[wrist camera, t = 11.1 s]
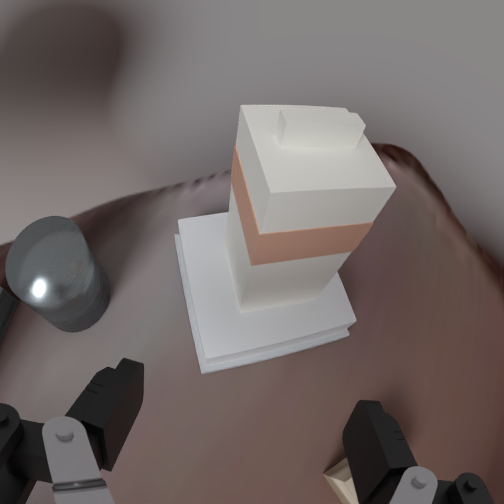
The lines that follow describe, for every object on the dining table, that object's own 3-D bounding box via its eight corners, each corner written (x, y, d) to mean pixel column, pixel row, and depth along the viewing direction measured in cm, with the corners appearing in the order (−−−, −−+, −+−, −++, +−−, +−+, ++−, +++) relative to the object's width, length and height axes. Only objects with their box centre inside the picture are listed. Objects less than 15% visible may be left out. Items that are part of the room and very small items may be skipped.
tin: (43, 336, 19) (1, 306, 14) (44, 266, 22) (11, 225, 17) (113, 327, 21) (84, 294, 15) (108, 255, 23) (86, 208, 18)
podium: (201, 374, 20) (200, 366, 17) (174, 238, 25) (171, 216, 22) (346, 337, 22) (363, 324, 20) (300, 219, 27) (309, 197, 25)
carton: (238, 314, 19) (276, 167, 9) (224, 243, 22) (242, 80, 11) (315, 300, 20) (412, 166, 10) (295, 235, 23) (354, 87, 12)
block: (348, 511, 15) (374, 523, 12) (322, 473, 17) (345, 482, 14) (390, 478, 17) (421, 483, 13) (367, 441, 18) (395, 441, 15)
